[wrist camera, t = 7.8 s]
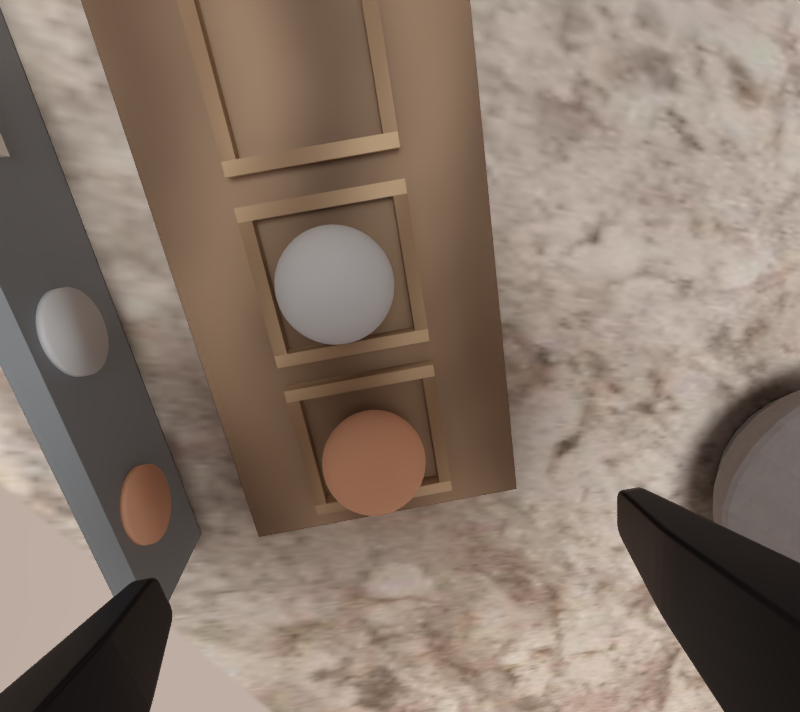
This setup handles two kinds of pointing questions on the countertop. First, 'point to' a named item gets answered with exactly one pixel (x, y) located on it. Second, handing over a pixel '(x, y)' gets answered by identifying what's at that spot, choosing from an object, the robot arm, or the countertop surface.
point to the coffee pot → (763, 478)
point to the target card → (79, 361)
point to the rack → (315, 206)
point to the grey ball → (334, 284)
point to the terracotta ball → (373, 462)
